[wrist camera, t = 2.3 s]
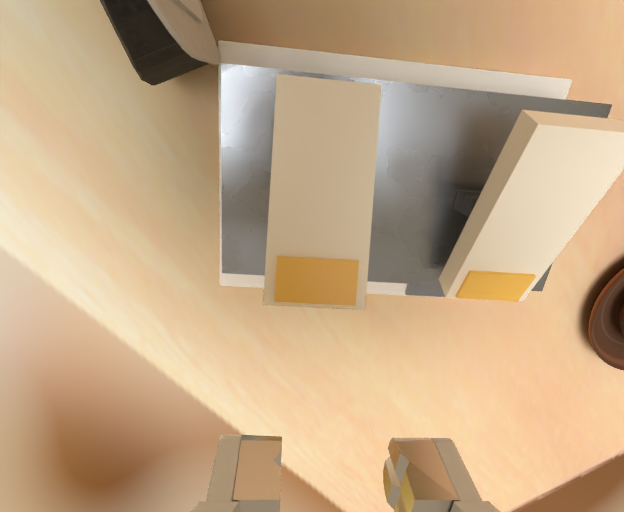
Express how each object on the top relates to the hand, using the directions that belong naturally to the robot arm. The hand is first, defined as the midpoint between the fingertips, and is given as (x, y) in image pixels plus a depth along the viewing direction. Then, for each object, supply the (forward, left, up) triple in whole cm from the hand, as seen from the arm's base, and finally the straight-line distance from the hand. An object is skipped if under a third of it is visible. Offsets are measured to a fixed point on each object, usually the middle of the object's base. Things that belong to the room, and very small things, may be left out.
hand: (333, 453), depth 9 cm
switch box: (-4, +5, -19) cm, 20 cm away
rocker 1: (-4, 0, -11) cm, 11 cm away
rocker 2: (-4, +10, -11) cm, 15 cm away
